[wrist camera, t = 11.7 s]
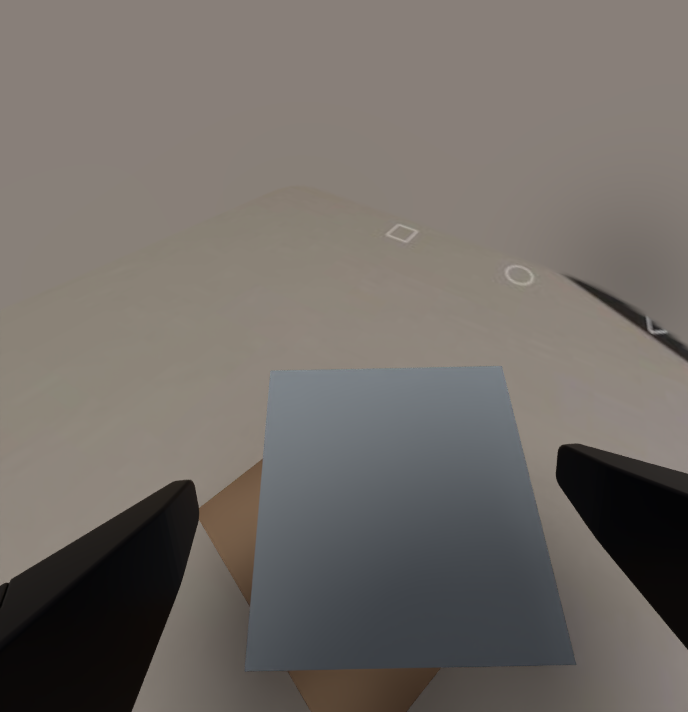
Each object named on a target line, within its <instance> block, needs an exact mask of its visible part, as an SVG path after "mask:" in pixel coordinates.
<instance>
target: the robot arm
mask: <svg viewBox="0 0 688 712" xmlns="http://www.w3.org/2000/svg"><path fill="white" fill-rule="evenodd" d="M556 479H557V482H558V484H559V486H560V487H561V489H562V490H563V492H564V493H565V495H566V496H567V497H568V499H569V500H570V502H571V503H572V505H573V506H574V508H575V509H576V511H577V512H578V513H579V515H580V516H581V518H582V519H583V521H584V522H585V524H586V525H587V526H588V528H589V529H590V531H591V532H592V533H593V535H594V536H595V538H596V539H597V540H598V542H599V543H600V544H601V545H602V547H603V548H604V549H605V550H606V552H607V553H608V554H609V555H610V556H611V558H612V559H613V560H614V561H615V562H616V564H617V565H618V566H619V567H620V568H621V570H622V571H623V572H624V573H625V575H626V576H627V577H628V578H629V579H630V581H631V582H632V583H633V584H634V585H635V587H636V588H637V589H638V590H639V591H640V593H641V594H642V595H643V596H644V597H645V599H646V600H647V601H648V602H649V604H650V605H651V606H652V607H653V608H654V610H655V611H656V612H657V613H658V614H659V616H660V617H661V618H662V619H663V620H664V622H665V623H666V624H667V625H668V626H669V628H670V629H671V630H672V631H673V632H674V634H675V635H676V636H677V637H678V639H679V640H680V641H681V642H682V643H683V645H684V646H685V647H686V648H687V649H688V474H687V473H683V472H679V471H676V470H672V469H669V468H665V467H661V466H658V465H654V464H650V463H647V462H643V461H640V460H636V459H632V458H629V457H625V456H622V455H618V454H614V453H611V452H607V451H603V450H600V449H596V448H593V447H589V446H585V445H582V444H565V445H561V446H560V447H559V449H558V455H557V466H556ZM198 521H199V506H198V501H197V495H196V490H195V485H194V483H193V481H192V480H180V481H174V482H172V483H170V484H168V485H167V486H165V487H163V488H162V489H160V490H158V491H157V492H155V493H153V494H152V495H150V496H149V497H147V498H145V499H144V500H142V501H140V502H139V503H137V504H135V505H134V506H132V507H130V508H129V509H127V510H125V511H124V512H122V513H120V514H119V515H117V516H115V517H114V518H112V519H110V520H109V521H107V522H105V523H104V524H102V525H100V526H99V527H97V528H95V529H94V530H92V531H90V532H89V533H87V534H86V535H84V536H82V537H81V538H79V539H77V540H76V541H74V542H72V543H71V544H69V545H67V546H66V547H64V548H62V549H61V550H59V551H57V552H56V553H54V554H52V555H51V556H49V557H47V558H46V559H44V560H42V561H41V562H39V563H37V564H36V565H34V566H32V567H31V568H29V569H27V570H26V571H24V572H23V573H21V574H19V575H18V576H16V577H14V578H13V579H11V580H10V582H9V583H4V584H2V585H1V586H0V712H132V709H133V707H134V704H135V702H136V699H137V696H138V694H139V691H140V689H141V686H142V684H143V681H144V678H145V676H146V673H147V671H148V668H149V666H150V663H151V660H152V658H153V655H154V653H155V650H156V648H157V645H158V642H159V640H160V637H161V635H162V632H163V630H164V627H165V624H166V622H167V619H168V617H169V614H170V612H171V609H172V607H173V604H174V601H175V599H176V596H177V593H178V591H179V588H180V585H181V582H182V579H183V575H184V572H185V568H186V565H187V561H188V557H189V554H190V550H191V546H192V543H193V539H194V536H195V532H196V528H197V525H198Z"/></svg>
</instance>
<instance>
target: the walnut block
mask: <svg viewBox="0 0 688 712" xmlns="http://www.w3.org/2000/svg"><path fill="white" fill-rule="evenodd" d="M262 464H263V459H262V460H261V461H259V462H258V463H257V464H255V465H254V466H253V467H252V468H250V469H249V470H248V471H246V472H245V473H244V474H243V475H241V476H240V477H239V478H237V479H236V480H235V481H233V482H232V483H231V484H230V485H228V486H227V487H226V488H224V489H223V490H222V491H221V492H219V493H218V494H217V495H215V496H214V497H213V498H212V499H210V500H209V501H208V502H206V503H205V504H204V505H203V506H201V507H200V508H199V520H200V522H201V524H202V525H203V527H204V529H205V530H206V532H207V534H208V536H209V537H210V539H211V541H212V542H213V544H214V546H215V548H216V549H217V551H218V553H219V554H220V556H221V558H222V560H223V561H224V563H225V565H226V566H227V568H228V570H229V572H230V573H231V575H232V577H233V579H234V580H235V582H236V584H237V585H238V587H239V589H240V591H241V592H242V594H243V596H244V597H245V599H246V601H247V603H248V604H249V606H250V603H251V591H252V580H253V568H254V556H255V545H256V533H257V522H258V510H259V499H260V487H261V475H262ZM440 668H441V667H440ZM440 668H390V669H340V670H290V671H288V673H289V675H290V676H291V678H292V680H293V682H294V683H295V685H296V687H297V688H298V690H299V692H300V694H301V695H302V697H303V699H304V700H305V702H306V704H307V706H308V707H309V709H310V711H311V712H407V710H408V709H409V708H410V707H411V705H412V704H413V703H414V701H415V700H416V699H417V698H418V696H419V695H420V694H421V693H422V691H423V690H424V689H425V687H426V686H427V685H428V684H429V682H430V681H431V680H432V679H433V677H434V676H435V675H436V673H437V672H438V671H439V670H440Z"/></svg>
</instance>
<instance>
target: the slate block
mask: <svg viewBox="0 0 688 712" xmlns="http://www.w3.org/2000/svg"><path fill="white" fill-rule="evenodd" d="M539 665H576V662H575V658H574V654H573V650H572V646H571V642H570V638H569V634H568V630H567V626H566V622H565V618H564V614H563V610H562V606H561V602H560V598H559V594H558V589H557V585H556V581H555V577H554V573H553V569H552V565H551V561H550V557H549V553H548V549H547V545H546V541H545V537H544V533H543V529H542V525H541V521H540V517H539V513H538V509H537V505H536V501H535V497H534V493H533V489H532V485H531V481H530V477H529V473H528V469H527V465H526V461H525V457H524V453H523V449H522V445H521V441H520V437H519V433H518V429H517V425H516V421H515V417H514V413H513V409H512V405H511V401H510V397H509V393H508V389H507V385H506V381H505V377H504V373H503V369H502V366H479V367H430V368H381V369H331V370H282V371H270V383H269V394H268V406H267V417H266V429H265V441H264V452H263V464H262V475H261V487H260V499H259V510H258V522H257V533H256V545H255V556H254V568H253V580H252V591H251V603H250V614H249V626H248V638H247V649H246V661H245V671H290V670H340V669H390V668H440V667H490V666H539Z"/></svg>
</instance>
